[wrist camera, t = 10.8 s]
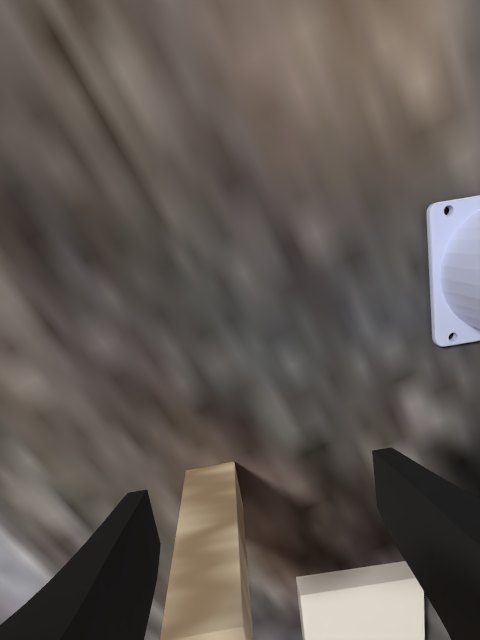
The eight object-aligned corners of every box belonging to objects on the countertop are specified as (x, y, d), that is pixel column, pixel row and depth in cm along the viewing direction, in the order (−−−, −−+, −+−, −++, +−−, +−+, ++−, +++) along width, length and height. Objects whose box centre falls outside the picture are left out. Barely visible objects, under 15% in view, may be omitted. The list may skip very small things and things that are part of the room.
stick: (234, 461, 23) (243, 626, 13) (242, 503, 24) (257, 689, 14) (186, 470, 23) (159, 642, 13) (195, 511, 24) (177, 704, 14)
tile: (423, 576, 24) (425, 671, 26) (409, 553, 26) (412, 644, 28) (300, 595, 24) (310, 690, 26) (294, 571, 26) (304, 660, 27)
